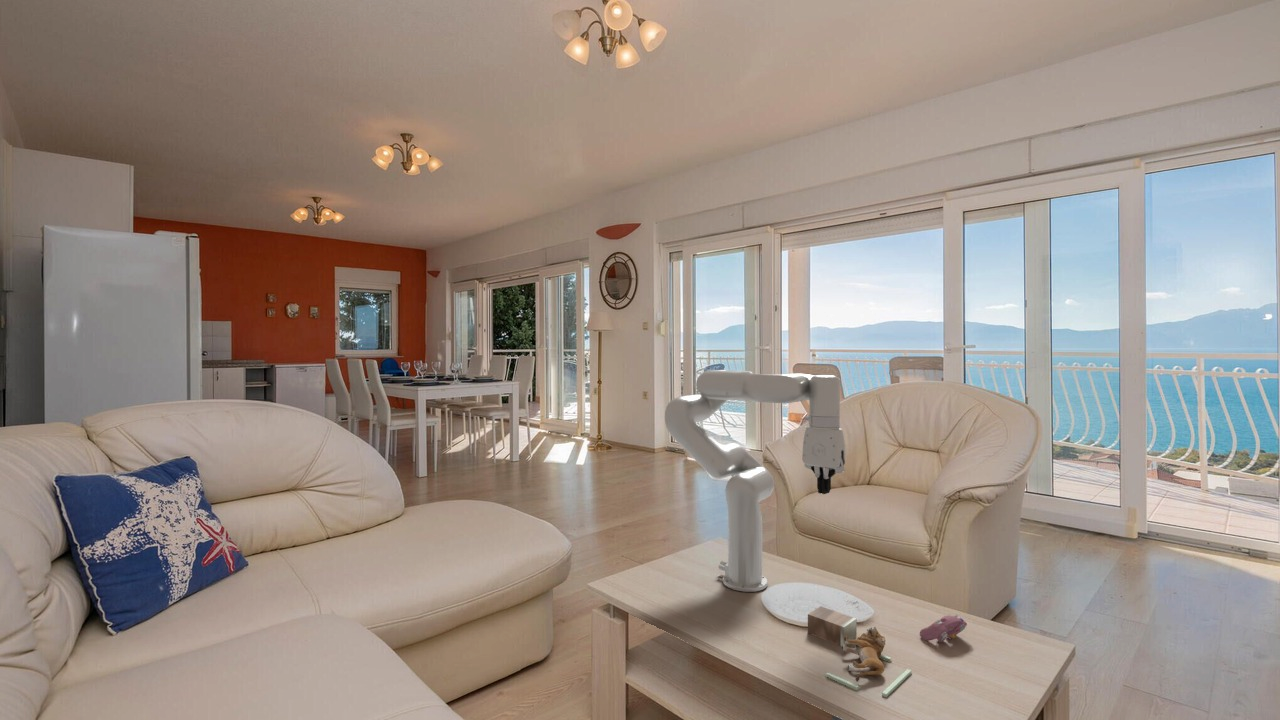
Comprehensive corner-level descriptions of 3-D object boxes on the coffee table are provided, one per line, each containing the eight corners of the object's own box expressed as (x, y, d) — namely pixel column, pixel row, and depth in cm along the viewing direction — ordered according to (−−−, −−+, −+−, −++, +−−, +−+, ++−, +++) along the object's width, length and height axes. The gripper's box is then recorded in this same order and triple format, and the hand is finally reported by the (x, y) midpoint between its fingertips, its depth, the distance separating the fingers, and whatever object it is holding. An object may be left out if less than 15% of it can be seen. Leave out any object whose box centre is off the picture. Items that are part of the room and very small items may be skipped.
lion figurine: (843, 617, 127) (885, 625, 126) (838, 636, 129) (880, 644, 128) (856, 670, 114) (903, 680, 112) (850, 691, 115) (897, 701, 114)
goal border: (826, 676, 117) (826, 673, 117) (861, 649, 128) (861, 646, 128) (882, 701, 109) (882, 698, 109) (915, 669, 120) (915, 666, 120)
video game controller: (931, 652, 130) (944, 630, 127) (916, 635, 133) (928, 613, 130) (961, 642, 134) (974, 621, 131) (945, 626, 138) (957, 605, 135)
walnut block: (807, 614, 135) (844, 627, 129) (820, 606, 139) (856, 618, 133) (807, 633, 135) (843, 647, 129) (820, 624, 140) (856, 638, 133)
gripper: (791, 421, 153) (790, 490, 153) (844, 426, 142) (844, 500, 143) (806, 419, 158) (805, 485, 159) (858, 423, 147) (858, 495, 148)
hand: (823, 492), depth 151 cm, fingers closed
